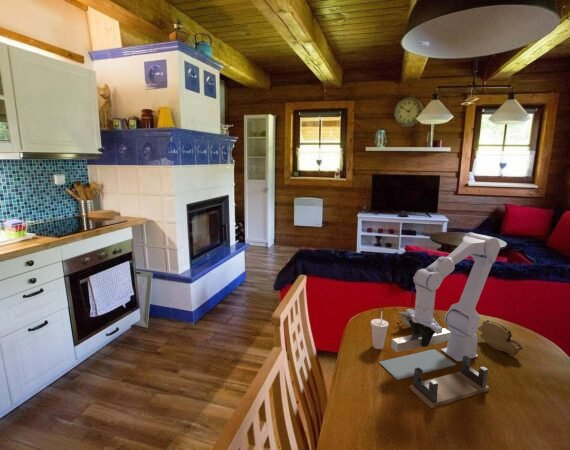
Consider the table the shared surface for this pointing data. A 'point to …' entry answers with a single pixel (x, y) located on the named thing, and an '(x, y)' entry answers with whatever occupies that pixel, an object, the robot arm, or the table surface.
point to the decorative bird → (406, 319)
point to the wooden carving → (499, 337)
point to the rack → (450, 385)
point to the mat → (416, 363)
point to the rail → (418, 340)
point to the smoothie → (379, 332)
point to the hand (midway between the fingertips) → (421, 343)
